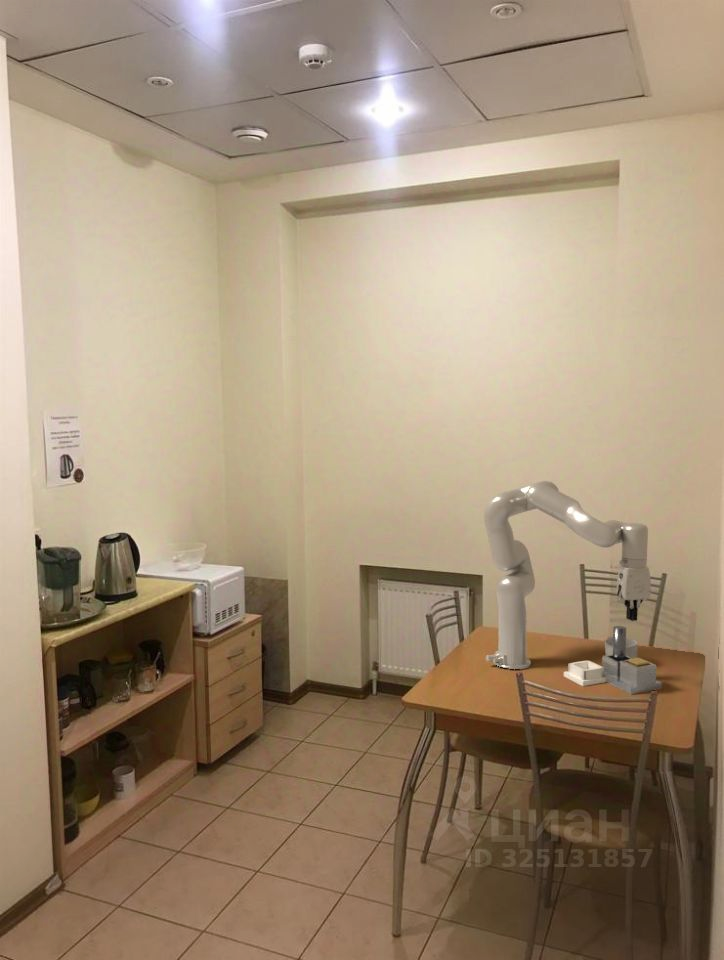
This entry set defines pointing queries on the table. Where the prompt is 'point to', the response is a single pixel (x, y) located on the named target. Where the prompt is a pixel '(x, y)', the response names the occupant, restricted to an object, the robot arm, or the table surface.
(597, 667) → the white square socket
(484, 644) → the table surface
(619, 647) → the blue-grey cylinder
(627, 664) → the block
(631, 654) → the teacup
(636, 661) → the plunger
